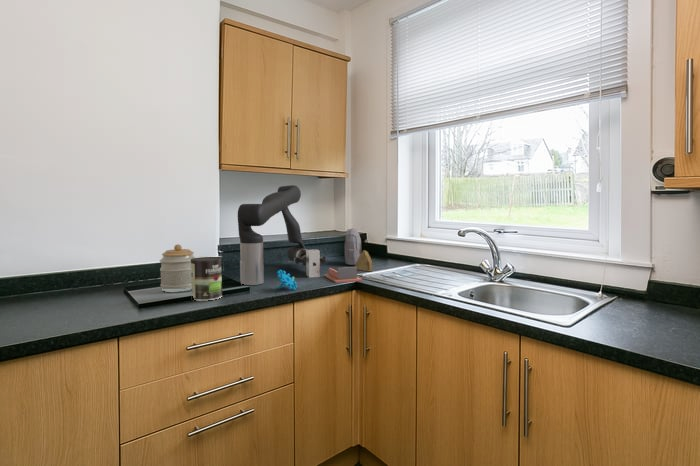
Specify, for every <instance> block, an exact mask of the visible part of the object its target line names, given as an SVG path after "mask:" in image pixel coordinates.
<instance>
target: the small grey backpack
mask: <svg viewBox="0 0 700 466" xmlns="http://www.w3.org/2000/svg"><path fill="white" fill-rule="evenodd" d="M362 252H363V250H362V239H361V236H360V233H359V232H358V230H357V229H356V228H353V227H352V228H349V229H347V230H346V231H345V239H344V261H345V264H346V265H349V266H355V264H356V262H357V260H358V258H359V256H360V255H361V253H362Z"/></svg>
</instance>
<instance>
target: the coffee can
mask: <svg viewBox="0 0 700 466" xmlns="http://www.w3.org/2000/svg"><path fill="white" fill-rule="evenodd" d="M222 259H223V258H222V257H220V256H201V257H199V256H198V257H195V258H193V259H191V277H192V290H191V297H192V296H193V298H194V300H196V301H195V302H209V301H208V300H213V301H216V300H215V299H217V300H220V299H222V298H223V282H222V281H223V279H222V278H223V276H222ZM221 297H222V298H221ZM219 298H220V299H219ZM194 300H193V301H194Z"/></svg>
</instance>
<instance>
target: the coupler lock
mask: <svg viewBox="0 0 700 466" xmlns="http://www.w3.org/2000/svg"><path fill="white" fill-rule="evenodd" d="M320 253H321V251H320V250H319V249H307V250H306V266H305V267H306V271H305V272H306V275H305V276H306V277H308V278H320V277H321V273H320V272H321V268H320V267H321V263H320V255H321V254H320Z"/></svg>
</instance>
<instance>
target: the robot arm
mask: <svg viewBox="0 0 700 466" xmlns="http://www.w3.org/2000/svg"><path fill="white" fill-rule="evenodd" d="M301 193H302V192H301V189H300V187H298V186H297V185H293V184H291V185H283V186H279V187H278V188H277V190H276V192H272V193H270V194H267V195H266V196H265V197H264V198H263V199H262V202H261V203H241V204H240V205H239V206H238V210H237V225H238V226H237V228H238V236H239V247H240V259H239V267H240V268H239V275H240V276H239V277H240V279H239V281H240V284H241V285H242V284H244V285H243V286H258V285H262V284H264V282H265V279H264V276H265V275H264V274H265V273H264V272H265V271H264V236H263V235H262V234H260V233H257V232H256V231H255V230H253V228H252V227H261V226H263V225H264V224H266V223H267V222H268V221H269V220H270V219H271V218H272V217H273V216H275V215H277V214H279V213H282V218H283V220H284V223H285V228H286V233H287V240H288V243H290V244H297V245H295V246H291V247H289V248H288V249H287V250H286V256H287V259H289V260H290V261H291V262H294V264H296V265H299V264H300V265H302V266H305V267H306V250H308V249H307V247H306V246H305V243H304V241H303V238H302V237H303V236H302V232H301V227H300V223H299V222H298V221H297V219H296V218H295V216H293V214H292V213H291V211H290V209H289V206H291V205H294V204H296V203H299V201H300V199H301V197H302V194H301ZM326 262H327V261H326V256H324V255H323V254H320V264H324V263H326Z"/></svg>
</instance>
